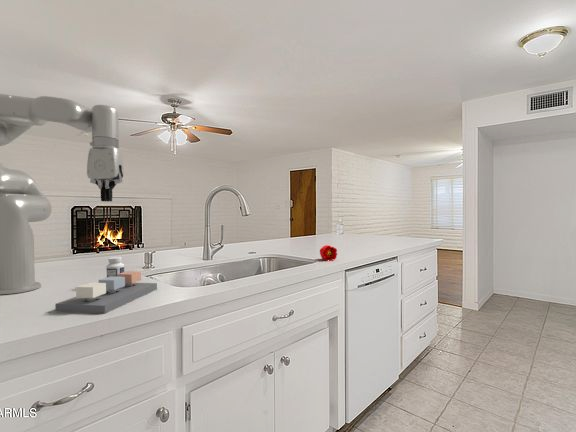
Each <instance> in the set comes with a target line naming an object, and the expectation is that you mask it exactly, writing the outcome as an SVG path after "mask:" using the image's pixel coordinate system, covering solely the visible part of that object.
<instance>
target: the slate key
mask: <svg viewBox="0 0 576 432" xmlns="http://www.w3.org/2000/svg"><path fill="white" fill-rule="evenodd" d="M98 283H106V290H108V294H114V293H116V289H118V288H121V287H124V286H125V277H115V276H110V277H107V276H106V277H104V278H100V279H98Z"/></svg>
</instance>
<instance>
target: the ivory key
mask: <svg viewBox="0 0 576 432" xmlns="http://www.w3.org/2000/svg"><path fill="white" fill-rule="evenodd" d="M75 293H76V294H75V297H76V298H87V302H94V301H96V297H97V296H100V295H103V294H105V293H106V283H99V282H87V283H84V284H80V285H77V286H76V287H75Z"/></svg>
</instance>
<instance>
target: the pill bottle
mask: <svg viewBox="0 0 576 432" xmlns="http://www.w3.org/2000/svg"><path fill="white" fill-rule="evenodd" d="M122 260H123V259H122V256H113V257H109V258H108V263H109V264H107V265H106V278H107V277H110V276H115V277H117V274H120V273H123V272H125V264H124V263H122Z"/></svg>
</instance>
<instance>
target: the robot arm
mask: <svg viewBox="0 0 576 432" xmlns="http://www.w3.org/2000/svg"><path fill="white" fill-rule="evenodd" d="M48 122H52V123H53V122H54V123H57V124H58V123H59V124H63V125H67V126H70V127H72V128H75V129H77V130H80V131H83V132H86V133H91V141H90V142H89V146H90V148H89V150H88V155H87V161H86V162H87V163H86V164H87V165H86V177H87V179H90V181H89V182H90V183H91V184H93V185H96V186H97V187H98V189H99V190H100V201H101V202H113V190H114V189H115V187H116V186H117V185H118V184H123V178H124V162H123V155H122V152H121V149H120V145H119V143H120V141H119V139H120V138H119V112H118V110H117V109H116V108H115V107H113V106H110V105H107V104H96V105H93V106H92V107H91V108H89V107H86V106H85V105H83V104H81V103H79V102H76V101H74V100H71V99H68V98H63V97H55V96H46V95H45V96H44V95H43V96H39V97H38V96H37V97H35V98H34V97H28V96H21V95H20V96H18V95H14V94H13V95H9V94H4V93H3V94H2V93H0V147H3V146H6V145H8V144H10V143H12V142H13V141H15V140H17V138H19V137H20V136H22V135H23V134H24V133H26V132H27V131H29V130H30V129H31V128H32V127H33V126H39V127H40V126H44V125H46V124H47V123H48ZM91 147H92V148H91ZM52 208H53V207H52V205H51V202H50V200H49V199H48V196H46V195H45V193H44V192H43V190H42V188H41V187H40V186H39V185H38V184H37V182H36V181H35V179H34V178H33V177H32V176H30V174H28V173H26V172H24V171H21V170H17V169H10V168H7V167H4V165H3V164H1V163H0V295H13V294H19V293H25V292H30V291H34V290H37V289H39V288H41V287H42V283H41V282H38V281H36V280H35V279H36V278H35V277H36V275H35V274H36V271H35V270H36V269H35V236H34V235H35V234H34V232H33V229H32V227H31V225H30V223H37V222H43V221H46V220H47V219H48V218H49V217H50V216H51V214H52V210H53V209H52Z"/></svg>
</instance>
